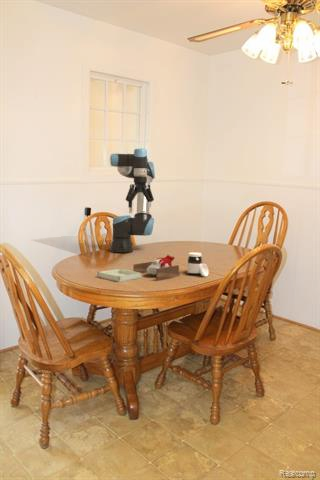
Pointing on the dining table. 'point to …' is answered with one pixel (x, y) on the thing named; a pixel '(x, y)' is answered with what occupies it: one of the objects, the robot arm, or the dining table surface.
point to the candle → (160, 264)
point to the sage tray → (119, 275)
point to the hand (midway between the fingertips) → (139, 213)
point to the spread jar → (196, 265)
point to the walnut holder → (158, 271)
